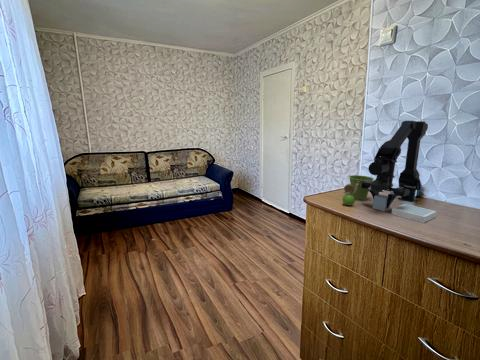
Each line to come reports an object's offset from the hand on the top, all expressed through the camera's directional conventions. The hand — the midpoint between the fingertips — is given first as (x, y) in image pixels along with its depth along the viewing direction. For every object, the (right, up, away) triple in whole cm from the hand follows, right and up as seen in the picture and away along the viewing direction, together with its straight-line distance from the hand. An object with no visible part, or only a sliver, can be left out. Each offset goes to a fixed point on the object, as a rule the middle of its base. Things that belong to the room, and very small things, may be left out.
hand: (381, 206), depth 112 cm
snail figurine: (-13, 0, +5) cm, 14 cm away
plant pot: (-3, +2, +16) cm, 17 cm away
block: (0, -1, 0) cm, 1 cm away
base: (+9, -3, -8) cm, 12 cm away
